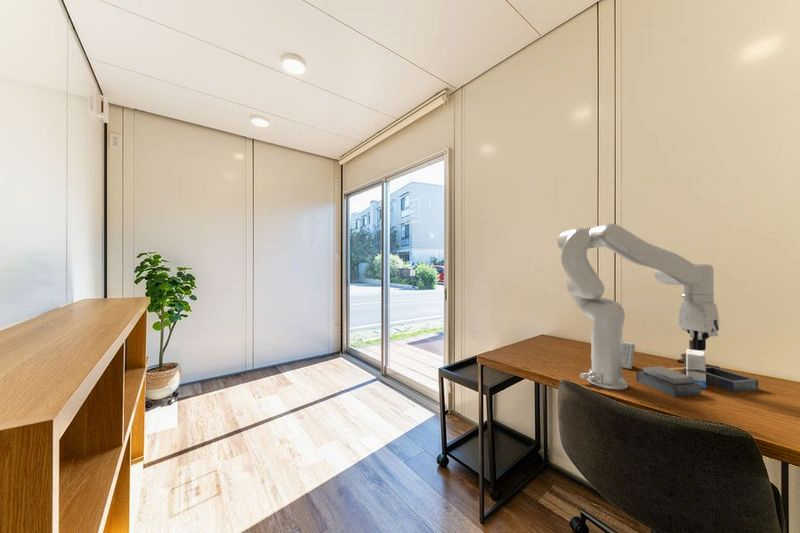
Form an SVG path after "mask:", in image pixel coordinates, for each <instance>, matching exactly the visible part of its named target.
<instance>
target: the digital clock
mask: <svg viewBox="0 0 800 533" xmlns="http://www.w3.org/2000/svg"><path fill="white" fill-rule="evenodd" d="M635 350H636V345H635V344H634V343H633V342H627V341H623V340H622V369H627V370H632V368H633V363H634V355H635ZM590 354H591V355H590V360H592V353H590Z"/></svg>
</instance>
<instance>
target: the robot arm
mask: <svg viewBox="0 0 800 533" xmlns="http://www.w3.org/2000/svg"><path fill="white" fill-rule="evenodd" d="M556 242H557V243H556V244H557V246H558V248H560V249H561V250H562V251H561V255H560V256H561V257H560V260H561V266H562V267H563V269H564V271H565V273H566V275H567V277H568V280H567V282H566V287H567V291H568V293H569V295H570V296H571V298H572V299H573V301H574V302H575V304H576V305H577V307H578V309H579V310H580V311H581V313H582V314H583V315H584V317H586V318H587V319H590V321H591V320H592V321H593V323H592V327H591V333H590V335H591V336H590V337H591V339H590V342H591V344H590V346H591V349H590V350H591V353H592V359H591V368H590V369H588V372H581V373H580V374H579V377H580V379H586V380H587V382H588V383H589V384H592V385H594V386H596V387H599V388H602V389H607V390H617V391H618V390H620V391H621V390H626V389H627V388H629V382H627V380H625V379H624V378H623V368H622V341H623V328H624V327H623V326H624V323H625V318H626V317H625V316H626V315H625V310H624V308H623V307H622V305H621V304H620V303H619V302H617V301H615V300H614V299H609V298H605V297H602V296H603V295H604V293H605V285H604V283H603V281H602V279H601V278H600V276H599V275H598V274H597V272H596V271H595V269H594V268H593V267H592V265H591V262H590V261H589V259H588V251H589V249H595V248H600V247H605V248H607V249H608V250H610V251H611V252H613V253H615V254H617V256H620V257H621V258H622V259H625V260H626V261H628V262H630V263H632V264H636V265H639V266H644V267H647V268H651V269H655V271H654V277H655V279H656V280H657V281H658V282H659V283H661V284H665V285H670V286H672V285H673V286H682V287H683V293H682V294H681V298H683V301H681V302H680V307H679V311H678V312H679V313H678V326H679V327H680V328H681V330H682V331H684V332H686V333H687V334H689V336H690V338H691V339H692V340H693V349H694V350H698V351H706V349H707V347H706V344H707V343H706V342H707V340H709V338H711V337H718V336H719V334H718V332H719V330H720V317H719V311H718V307H717V304H716V303H715V299H714V296H715V293H714V291H715V288H714V287H715V286H714V278H715V276H714V267H713V265H712V264H708V263H707V264H706V263H705V264H702V263H692V262H691V261H689V260H688V259H686V258H685V257H682V256H681V255H679V254H677V253H674V252H673V251H671V250H670V251H669V250H667V249H665V248H662V247H660V246H657V245H654V244H651V243H649V242H647V241H645V240H644V239H642V238H640V237H639V236H636V235H635V234H634V233H632V232H630V231H629V230H627V229H625V228H624V227H622V226H620V225H618V224H617V223H611V222H610V223H609V222H608V223H604V224H600V225H596V226H591V227H587V228H583V227H577V228H576V227H575V228H572V229H568V230H564V231H562V232H561V233H560V234H559V235H558V237H557V240H556ZM591 353H590V354H591Z"/></svg>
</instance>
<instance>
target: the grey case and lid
mask: <svg viewBox="0 0 800 533" xmlns="http://www.w3.org/2000/svg"><path fill="white" fill-rule="evenodd" d="M642 368H643V369H642V371H641V370H640V371H636V382H639V383H640V382H641V384H643V385H645V384H646V385H645V386H647V385H648V387H650V388H652V387H653V388H652V389H654V388H655V390H657V391H659V392H661V391H662V393H663V394H667V395H668V396H671V397H673V398H681V397H682V398H683V397H693V396H701V395H702V388H701V385H700V384H697V383H695V382H693V377H690V376H687V369H686V367H684V366H683V367H682V366H681V367H669V368H668V367H664V366H661V365H656V366H643V367H642ZM706 384H708V385H711V386H715V387H718V388H720V389H722V390H727V391H729V392H732V393H741V392H742V393H743V392H751V391H753V392H754V391H759V379H757V378H756V379H755V378H752V377H749V376H746V375H742V374H739V373H734V372H731V371H728V370H726V369H722V368H718V367H715V366H706Z"/></svg>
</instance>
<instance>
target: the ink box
mask: <svg viewBox="0 0 800 533" xmlns="http://www.w3.org/2000/svg"><path fill="white" fill-rule="evenodd" d="M685 350H686V351H685V352H686V353H685V354H686V369H687V376H690V377H693V382H695V383H697V384H700V385H701V389H703V390H706V389H707V383H706V367H707V366H706V355H705V352H704V351H705V350H701V351H698V350H691V349H689V348H686V349H685Z"/></svg>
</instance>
